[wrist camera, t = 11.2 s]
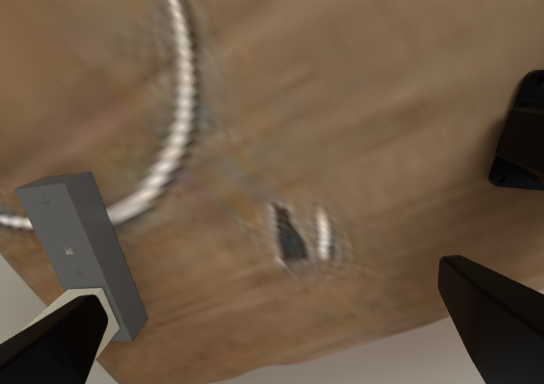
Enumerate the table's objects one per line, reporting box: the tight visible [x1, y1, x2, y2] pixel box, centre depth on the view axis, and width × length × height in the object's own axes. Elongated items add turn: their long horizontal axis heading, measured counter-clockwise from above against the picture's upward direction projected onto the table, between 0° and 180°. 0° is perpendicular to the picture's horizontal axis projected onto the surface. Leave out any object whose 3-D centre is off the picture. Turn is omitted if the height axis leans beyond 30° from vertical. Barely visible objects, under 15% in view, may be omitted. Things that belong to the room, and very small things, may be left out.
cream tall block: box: [20, 288, 119, 361], centre depth 18 cm, size 3×4×10 cm
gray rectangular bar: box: [14, 172, 148, 342], centre depth 23 cm, size 4×14×2 cm, turn 9°
